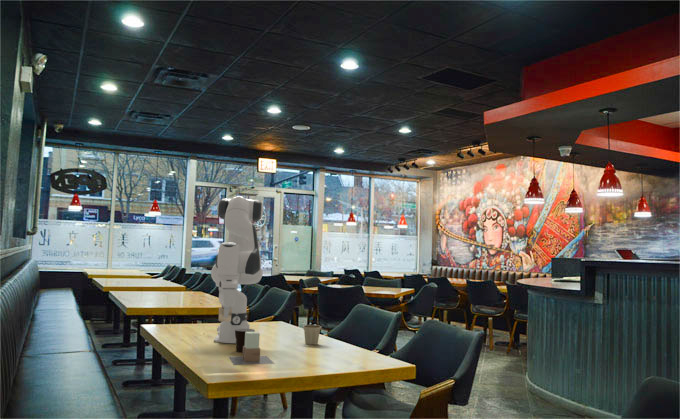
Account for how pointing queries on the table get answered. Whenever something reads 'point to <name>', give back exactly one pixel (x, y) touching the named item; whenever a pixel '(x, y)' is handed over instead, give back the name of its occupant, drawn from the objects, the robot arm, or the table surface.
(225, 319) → the maple block
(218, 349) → the table surface
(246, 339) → the sage block
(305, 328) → the flower pot
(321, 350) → the table surface
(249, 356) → the walnut block
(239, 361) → the plate
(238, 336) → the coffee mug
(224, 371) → the table surface
